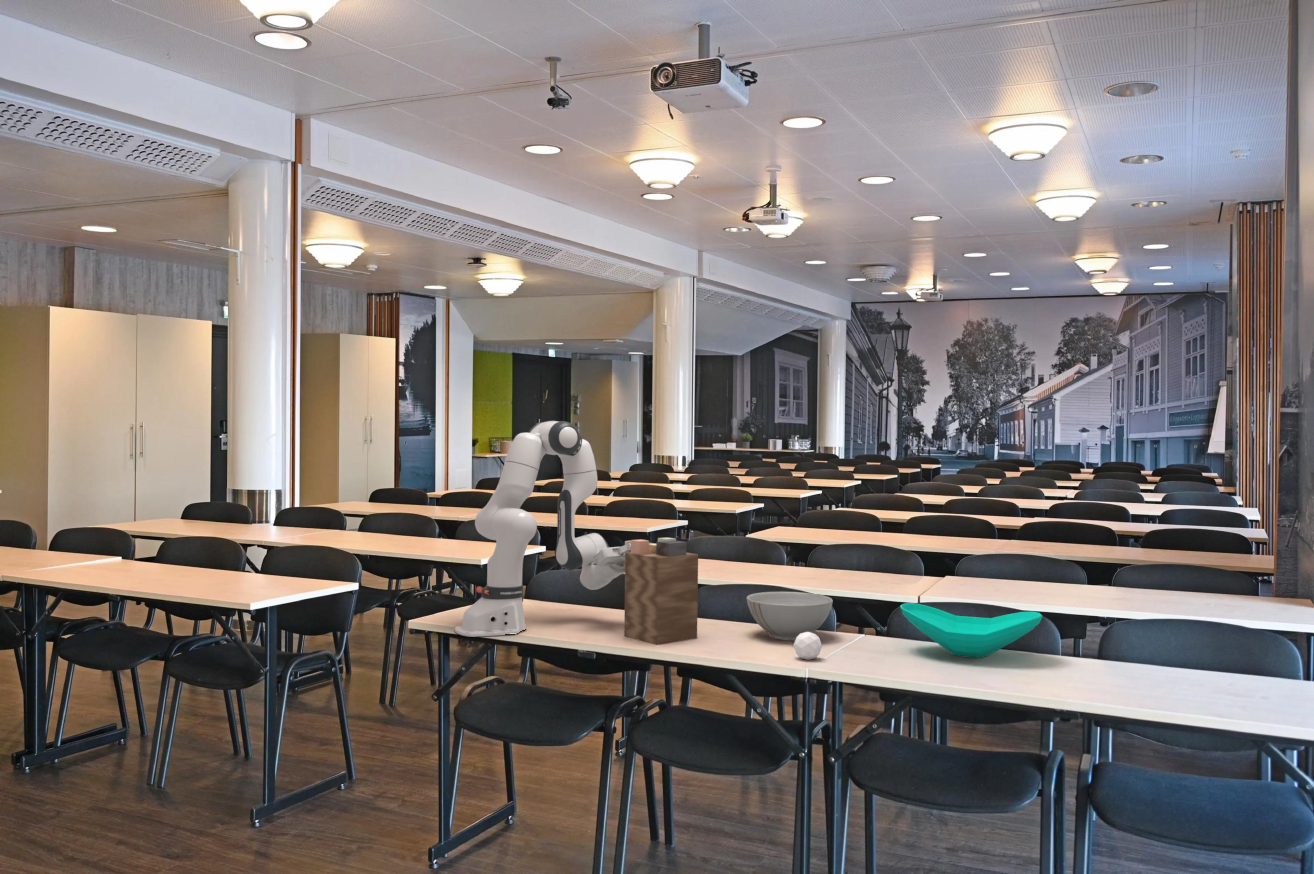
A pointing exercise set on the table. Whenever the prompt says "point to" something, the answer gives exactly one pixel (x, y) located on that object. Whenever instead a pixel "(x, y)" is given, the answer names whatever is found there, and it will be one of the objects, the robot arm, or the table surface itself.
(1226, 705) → the table surface
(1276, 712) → the table surface
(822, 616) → the decorative bowl
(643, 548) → the terracotta block
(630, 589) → the pedestal
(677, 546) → the mallet
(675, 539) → the sage block
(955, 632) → the table top decor
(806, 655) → the geometric ball
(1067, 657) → the table surface
